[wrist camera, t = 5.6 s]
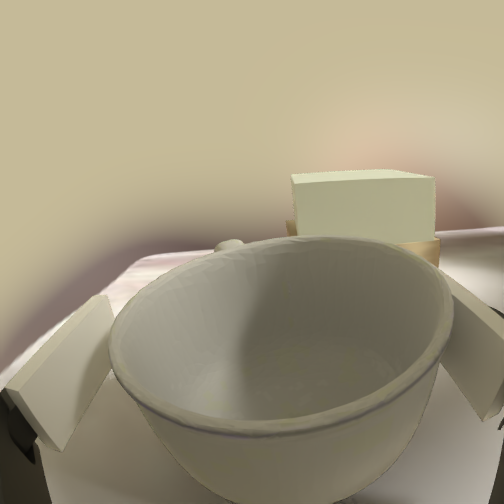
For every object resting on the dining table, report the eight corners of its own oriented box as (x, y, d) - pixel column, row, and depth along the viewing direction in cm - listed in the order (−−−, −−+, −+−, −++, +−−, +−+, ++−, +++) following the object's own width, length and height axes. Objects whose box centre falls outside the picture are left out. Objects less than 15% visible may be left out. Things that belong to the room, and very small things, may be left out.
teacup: (445, 484, 7) (531, 318, 4) (166, 547, 6) (36, 419, 4) (338, 325, 20) (336, 212, 18) (185, 350, 19) (157, 238, 17)
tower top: (390, 213, 31) (388, 169, 29) (434, 240, 20) (434, 177, 19) (294, 220, 32) (290, 174, 31) (300, 252, 22) (294, 183, 20)
